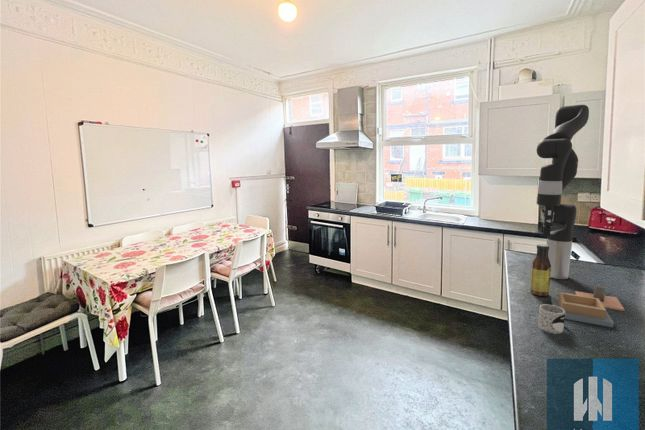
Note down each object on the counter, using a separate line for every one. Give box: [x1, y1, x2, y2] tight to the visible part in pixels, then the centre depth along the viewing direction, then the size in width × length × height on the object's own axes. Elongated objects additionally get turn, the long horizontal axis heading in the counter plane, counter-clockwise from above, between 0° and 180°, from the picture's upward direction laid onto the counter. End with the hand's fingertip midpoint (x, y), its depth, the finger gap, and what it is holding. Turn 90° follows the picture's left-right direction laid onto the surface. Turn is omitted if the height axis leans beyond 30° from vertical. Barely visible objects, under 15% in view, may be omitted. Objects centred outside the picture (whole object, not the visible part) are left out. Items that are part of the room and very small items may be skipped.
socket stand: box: [550, 291, 615, 328], centre depth 113 cm, size 15×15×4 cm
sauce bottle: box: [530, 243, 551, 297], centre depth 128 cm, size 7×6×20 cm
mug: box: [537, 304, 566, 335], centre depth 104 cm, size 10×7×7 cm
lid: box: [574, 285, 625, 312], centre depth 122 cm, size 12×12×6 cm
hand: (545, 234), depth 126 cm, fingers open, 8 cm apart
